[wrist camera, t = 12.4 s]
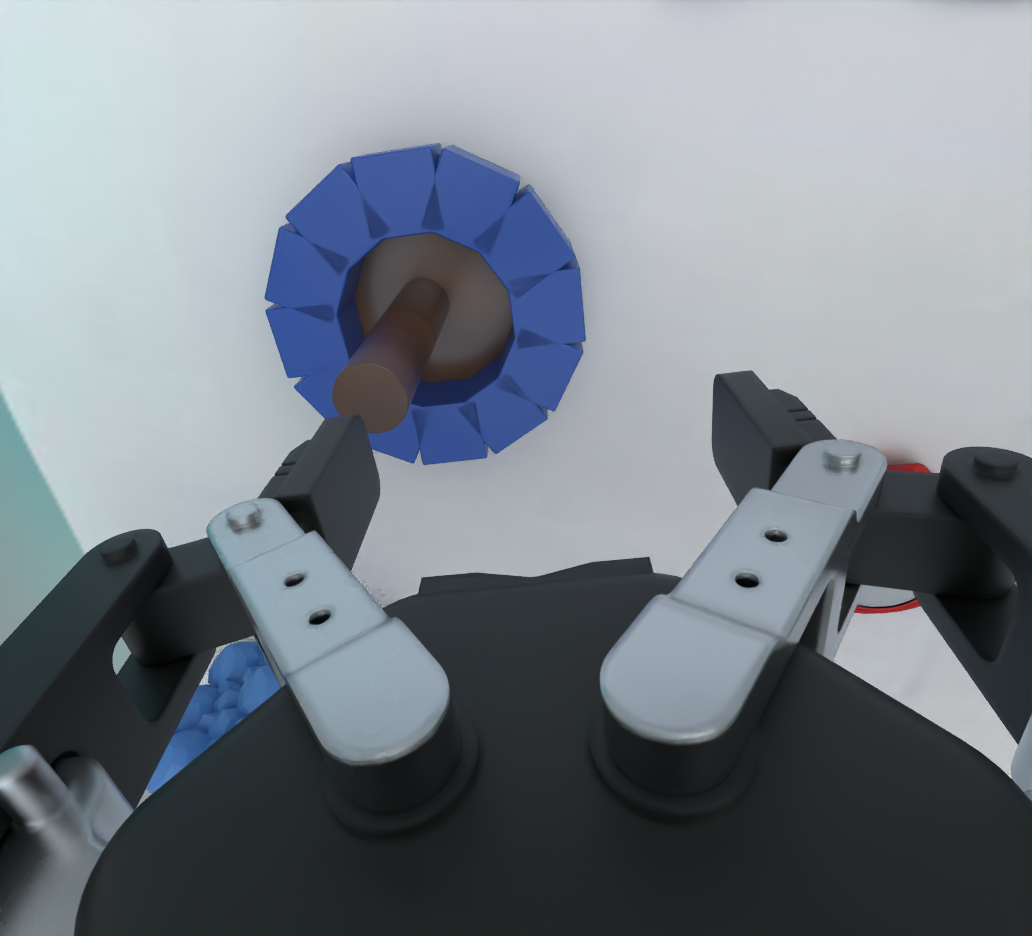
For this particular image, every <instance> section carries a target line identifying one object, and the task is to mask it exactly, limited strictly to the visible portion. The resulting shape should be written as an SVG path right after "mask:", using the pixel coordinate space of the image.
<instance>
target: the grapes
mask: <svg viewBox="0 0 1032 936" xmlns="http://www.w3.org/2000/svg"><path fill="white" fill-rule="evenodd" d="M208 683H209V684H210V685H207V684H206V685H199V686H198V688H197V689H196V691H195V693H194V695H193V697H192V699H191V701H190V703H189V705H188V707H187V709H186V711H185V713H184V715H183V717H182V719H181V721H180V723H179V725H178V727H177V729H176V731H175V733H174V735H173V736H172V738H171V740H170V742H169V744H168V746H167V748H166V750H165V752H164V754H163V756H162V758H161V760H160V762H159V764H158V766H157V768H156V770H155V772H154V774H153V776H152V778H151V780H150V782H149V783H148V785H147V787H146V788H147V790H148V791H149V792H150V793H154V792H155V791H156V790H157V789H159V788H160V787H161V786H162V785H163V784H165V783H166V782H167V781H168V780H170V779H171V778H172V777H173V776H174V775H176V774H177V773H178V772H179V771H180V770H182V769H183V768H184V767H185V766H187V765H188V764H189V763H190V762H191V761H193V760H194V759H195V758H196V757H198V756H199V755H200V754H201V753H202V752H204V751H205V750H206V749H207V748H208V747H210V746H211V745H212V744H213V743H215V742H216V741H217V740H218V739H219V738H221V737H222V736H223V735H224V734H226V733H227V732H228V731H229V730H230V729H232V728H233V727H234V726H235V725H237V724H238V723H239V722H240V721H241V720H243V719H244V718H245V717H246V716H247V715H249V714H250V713H251V712H252V711H254V710H255V709H256V708H257V707H258V706H260V705H261V704H262V703H263V702H265V701H266V700H267V699H268V698H269V697H271V696H272V695H273V694H274V693H275V692H277V691H278V690H279V689H280V686H279V684H278V682H277V680H276V678H275V676H274V674H273V673H272V671H271V669H270V667H269V665H268V663H267V661H266V659H265V657H264V655H263V653H262V651H261V649H260V647H259V645H258V643H256V642H252V641H247V642H237V643H234V644H231V645H228V646H227V647H225V648H224V649H223V650H222V651H221V652H220V654H219V655H218V656H217V657H216V658H215V660H214V662H213V664H212V665H211V667H210V669H209V677H208Z"/></svg>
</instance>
